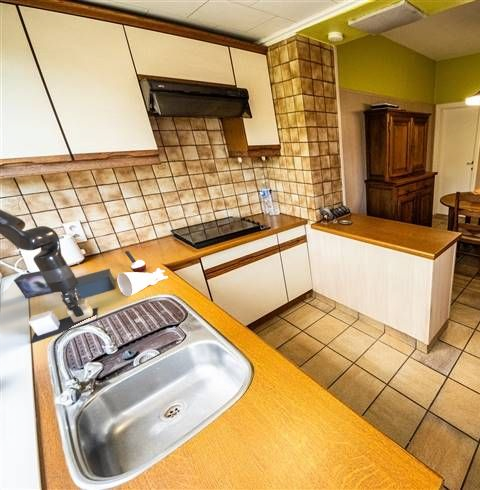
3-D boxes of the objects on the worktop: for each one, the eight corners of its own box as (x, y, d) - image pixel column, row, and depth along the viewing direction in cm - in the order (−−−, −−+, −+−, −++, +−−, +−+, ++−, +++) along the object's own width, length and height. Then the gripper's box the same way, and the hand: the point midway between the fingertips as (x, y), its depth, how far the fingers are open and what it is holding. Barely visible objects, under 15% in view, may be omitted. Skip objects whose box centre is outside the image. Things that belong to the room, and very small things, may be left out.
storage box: (75, 301, 123) (67, 288, 120) (77, 291, 132) (70, 279, 129) (115, 288, 132) (109, 276, 129) (115, 280, 140) (109, 268, 137)
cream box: (73, 322, 107) (65, 309, 104) (75, 317, 110) (67, 304, 108) (92, 316, 110) (84, 303, 108) (92, 311, 114) (85, 298, 111)
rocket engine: (163, 258, 138) (121, 267, 122) (176, 274, 137) (135, 286, 120) (156, 272, 143) (114, 283, 126) (168, 288, 141) (128, 301, 125)
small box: (24, 299, 127) (11, 280, 123) (32, 292, 133) (20, 274, 128) (54, 292, 132) (43, 274, 127) (61, 286, 137) (50, 268, 133)
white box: (37, 336, 101) (28, 322, 98) (40, 329, 104) (30, 316, 102) (58, 328, 104) (49, 315, 102) (60, 323, 108) (51, 310, 105)
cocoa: (148, 272, 147) (140, 252, 142) (134, 276, 143) (125, 256, 138) (146, 266, 153) (138, 248, 148) (132, 270, 149) (123, 251, 145)
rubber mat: (31, 343, 98) (30, 342, 98) (37, 328, 106) (36, 327, 106) (96, 320, 109) (96, 319, 109) (97, 307, 117) (97, 307, 117)
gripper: (48, 274, 105) (70, 309, 112) (42, 288, 95) (66, 325, 102) (75, 267, 110) (94, 301, 117) (71, 280, 100) (92, 316, 107)
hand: (81, 312), depth 109 cm, fingers closed on cream box, 5 cm apart
